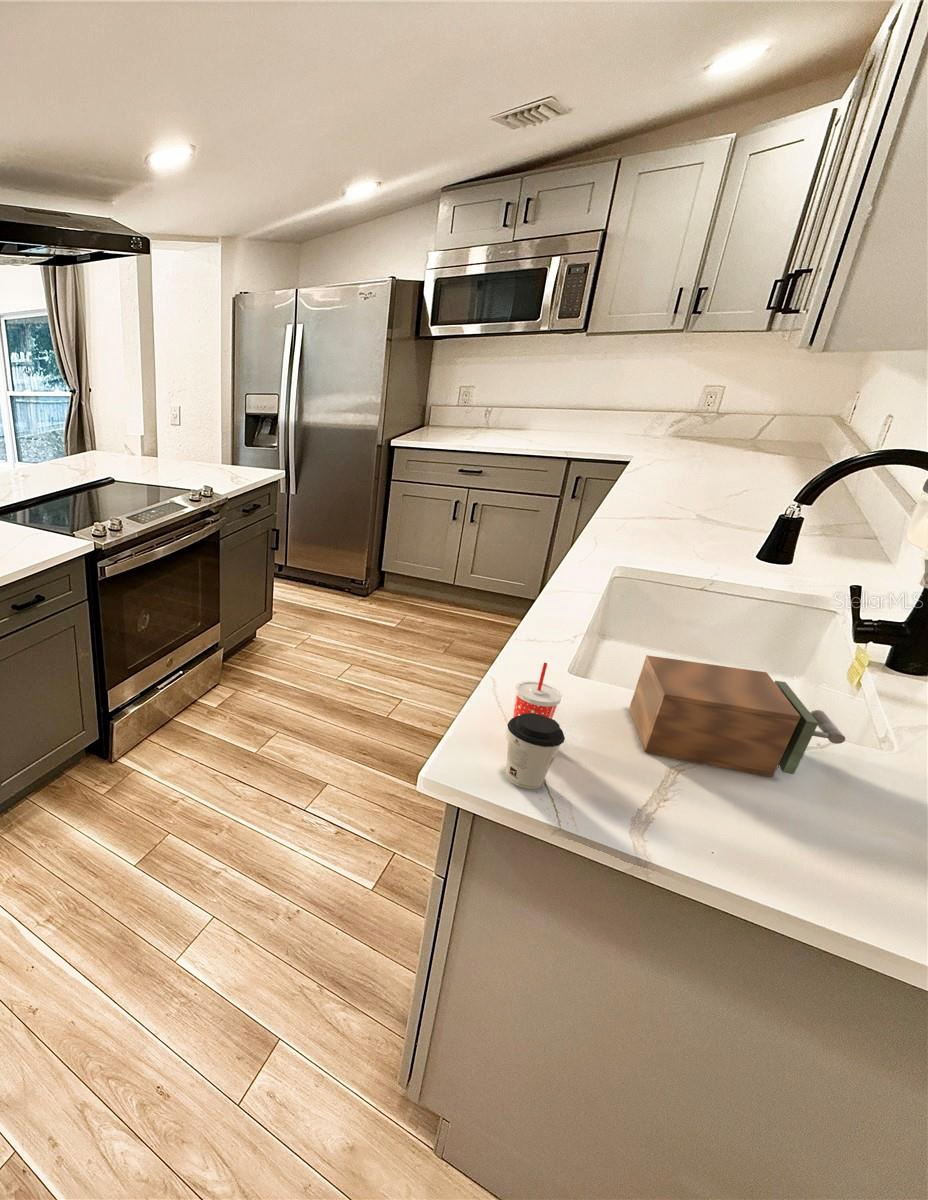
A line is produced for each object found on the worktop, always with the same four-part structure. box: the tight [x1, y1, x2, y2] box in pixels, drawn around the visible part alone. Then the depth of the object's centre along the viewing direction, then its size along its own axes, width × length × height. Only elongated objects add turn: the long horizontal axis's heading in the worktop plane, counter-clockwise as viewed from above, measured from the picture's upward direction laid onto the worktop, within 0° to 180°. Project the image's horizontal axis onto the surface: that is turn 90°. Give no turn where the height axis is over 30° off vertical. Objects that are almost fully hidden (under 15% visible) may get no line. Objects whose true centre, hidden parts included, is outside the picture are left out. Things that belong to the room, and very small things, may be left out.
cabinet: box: [628, 655, 800, 778], centre depth 94 cm, size 15×13×11 cm
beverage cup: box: [512, 662, 563, 719], centre depth 96 cm, size 6×6×14 cm
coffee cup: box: [505, 713, 566, 790], centre depth 89 cm, size 7×7×10 cm
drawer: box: [774, 680, 846, 775], centre depth 91 cm, size 18×11×9 cm, turn 62°
